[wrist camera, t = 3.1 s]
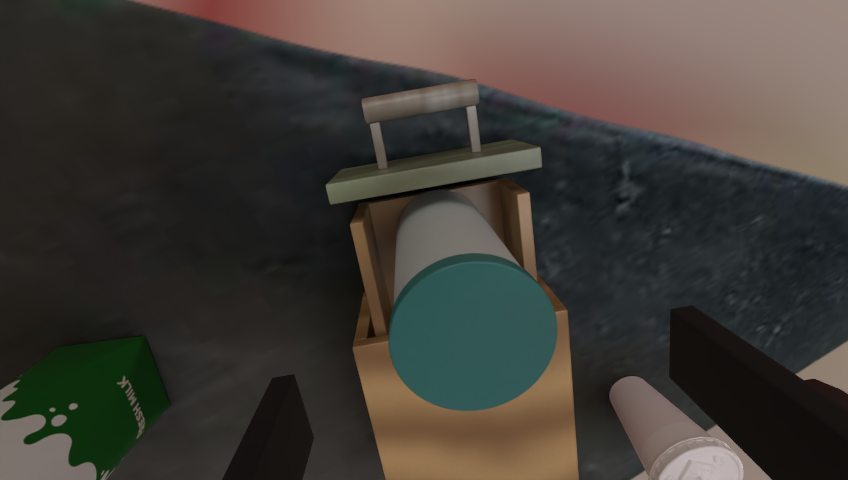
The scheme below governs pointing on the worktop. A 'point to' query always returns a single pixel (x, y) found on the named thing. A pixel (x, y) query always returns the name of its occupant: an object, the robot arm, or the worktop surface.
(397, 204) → the drawer
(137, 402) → the milk carton
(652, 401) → the smoothie
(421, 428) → the cabinet
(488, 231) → the container
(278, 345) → the worktop surface
